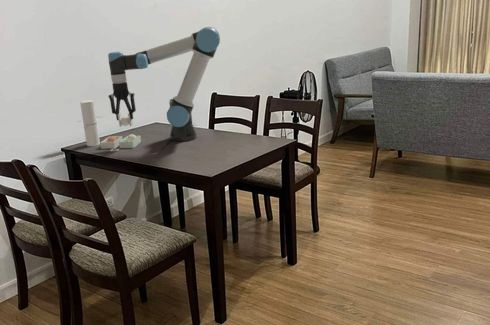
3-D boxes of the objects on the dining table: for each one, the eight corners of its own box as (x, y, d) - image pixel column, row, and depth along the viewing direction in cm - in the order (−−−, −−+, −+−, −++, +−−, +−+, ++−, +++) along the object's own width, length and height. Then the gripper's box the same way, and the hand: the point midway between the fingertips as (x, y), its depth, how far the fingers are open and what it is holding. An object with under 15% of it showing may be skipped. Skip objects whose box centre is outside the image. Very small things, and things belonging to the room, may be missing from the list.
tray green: (141, 142, 275) (140, 135, 274) (133, 148, 263) (132, 141, 261) (128, 142, 276) (127, 136, 275) (119, 149, 263) (118, 142, 262)
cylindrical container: (96, 147, 270) (89, 102, 263) (84, 147, 272) (77, 102, 265) (102, 143, 277) (96, 100, 270) (90, 143, 278) (84, 100, 271)
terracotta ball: (118, 143, 272) (117, 135, 271) (115, 146, 268) (113, 137, 266) (109, 144, 273) (108, 135, 271) (106, 146, 268) (105, 137, 267)
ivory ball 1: (132, 124, 264) (130, 115, 263) (129, 126, 260) (127, 117, 258) (123, 124, 265) (121, 115, 263) (120, 127, 260) (118, 117, 259)
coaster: (119, 150, 262) (119, 148, 261) (117, 152, 258) (116, 150, 258) (112, 150, 262) (112, 148, 262) (110, 152, 258) (110, 150, 258)
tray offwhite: (123, 143, 276) (122, 136, 275) (114, 149, 264) (113, 142, 263) (110, 143, 277) (109, 136, 276) (101, 149, 265) (100, 142, 263)
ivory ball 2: (138, 141, 274) (137, 133, 273) (135, 144, 270) (134, 135, 268) (129, 142, 275) (128, 133, 273) (126, 144, 270) (125, 135, 269)
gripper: (138, 80, 258) (144, 123, 265) (105, 82, 260) (112, 125, 267) (134, 82, 251) (140, 126, 258) (100, 84, 253) (107, 128, 260)
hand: (126, 125), depth 262 cm, fingers closed on ivory ball 1, 5 cm apart
